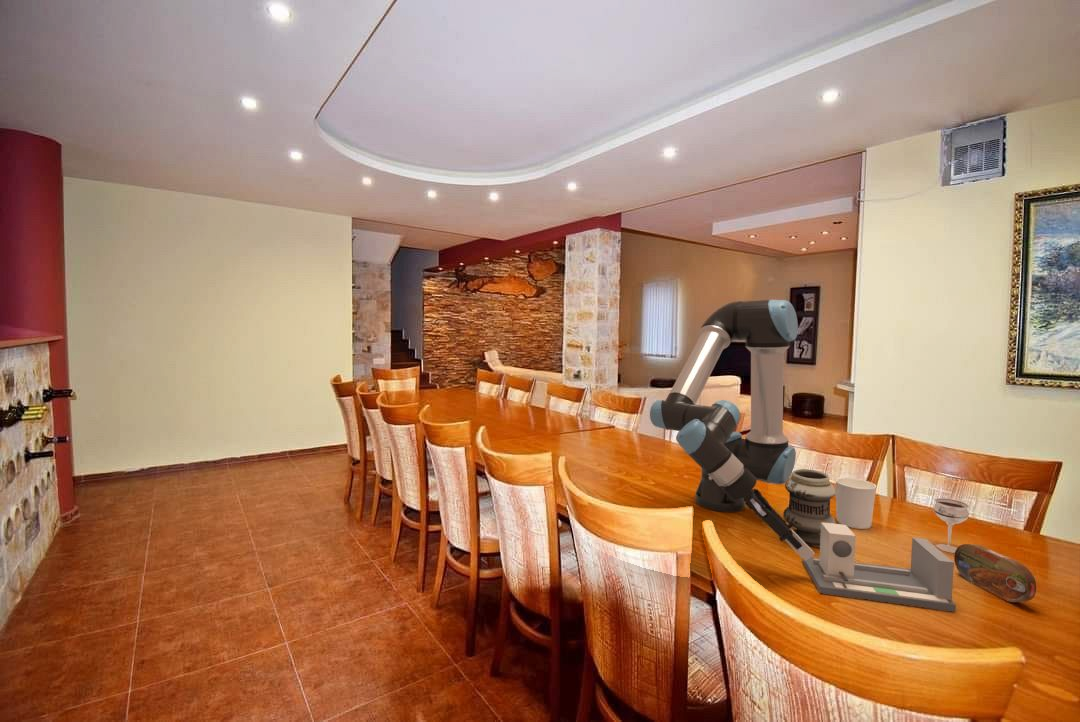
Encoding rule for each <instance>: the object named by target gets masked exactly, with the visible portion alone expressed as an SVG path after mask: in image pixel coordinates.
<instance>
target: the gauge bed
mask: <svg viewBox="0 0 1080 722" xmlns="http://www.w3.org/2000/svg"><path fill="white" fill-rule="evenodd" d="M910 556H911V557H910V568H903V567H898V566H896V567H895V566H887V565H880V564H873V563H870V564H869V563H863V562H855V561H854V579H853V578H847V579H848V581H844V580H843V578H842V577H837V576H830V575H826V574H825V573H824V571H823V570H822V568H821V566H820V565H819V559H820V557H814V556H812V557H811V558H809V559H808V560H806V561H804V560H803V559H802V558H801V559H802V564H803V566H804V567H805V570H806V572H807V573H808V574H809V576H810V578H812V579H811V580H812V582H813V584H814V585H816V586H815V588H816V589H817V591H818V593H819V592H820V593H823V594H822V595H827V594H829V595H830V596H834V595H836V597H842V596H843V597H844V598H849V597H852V598H851V599H856V598H860V599H859V600H863V599H868V600H867V601H871V600H873V601H872V602H878V601H880V602H879V603H885V602H888V603H887V604H892V603H897V604H896V605H900V604H905V605H904V606H907V605H913V606H912V607H914V606H919V607H918V608H921V607H926V608H925V609H929V608H931V609H930V610H936V609H937V610H938V611H945V612H950V611H952V612H953V613H956V612H957V610H956V608H957V604H956V603H955V602H954V601H952V600H953V599H952V598H953V587H954V585H953V584H954V567H955V561H953V560H952V559H950V557H948V556H947V555H946V554H945V553H943V552H942V551H941V549H939V548H937V547H936V545H934V544H933V543H931V542H930V541H929V540H928V539H926V538H922V537H921V538H920V537H912V539H911V555H910ZM820 593H819V594H820ZM829 595H828V596H829Z"/></svg>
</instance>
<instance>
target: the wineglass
mask: <svg viewBox="0 0 1080 722" xmlns="http://www.w3.org/2000/svg"><path fill="white" fill-rule="evenodd" d="M934 502H935V504H934V506H933V511H934V513H935V515H936V516H937V517H938V518H939V519H940V520H941V521H943V522H945V523H946V525H947V544H943V543H939V544H935V547H936V548H937V549H938V550H940V551H941V550H942V551H943V552H947V553H952V554H955V551H956V549H957V548H958V547H955V546H953V545H951V539H952V530H953V526H955V524H961V523H963V522H965V521H967V520H968V518H969V515H970V513H969V510H968V508H970V506H969V504H967V503H965V502H963V501H959V500H956V499H950V498H942V497H941V498H935V499H934Z"/></svg>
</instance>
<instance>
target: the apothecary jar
mask: <svg viewBox="0 0 1080 722" xmlns="http://www.w3.org/2000/svg"><path fill="white" fill-rule="evenodd" d="M784 487H785V490H786V491H787V492H788V493H789V496H788V497H789V498H788V499H789V501H788V506H787V507H786V508H785V509H784V511H783V512H782V515H783V518H784V519H783V520H785V521H786V524H787V525H789V524H790V523H791V525H792V526H793V527H792V528H795V529H792V530H793V531H794V532H795V533H796V534H797V535H798V536H799V537H800V538H801V539H802V540H803V541H804V542H805V543H806V544H807V545H808V546H809V547H813V548H820V535H821V522H823V523H833V524H836V520H835V518H834V516H833V515H832V514H831V499H833V498H835V497H836V486H834V485H833V483H831V482H830V477H829V475H828V474H827V473H825V472H822V471H819V470H815V469H810V468H809V469H808V468H807V469H806V468H799V469H793V471H792V473H791V476H790V478H789V479H788V480H787V481H786V482H785V483H784Z"/></svg>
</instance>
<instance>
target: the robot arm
mask: <svg viewBox="0 0 1080 722" xmlns="http://www.w3.org/2000/svg"><path fill="white" fill-rule="evenodd" d="M798 329H799V323H798V317H797V313H796V310H795V308H794V306H793V304H792V303H791V302H790V301H788V300H785V299H773V298H772V299H768V300H767V299H764V300H762V299H761V300H744V301H743V300H741V301H738V300H736V301H731V302H729V303H727V304H725V305H723V306H720V307H719V308H718V309H716V310H715V311H714V312H713V313H712V314H710V315H709V316H708V317H707V318H706V319H705V321H704V322H703V323H702V325H701V327H700V329H699V331H698V333H697V334H698V335H697V336H698V340H697V342H696V343H695V345H694V347H693V349H692V351H691V353H690V355H689V356H688V359H687V360H686V361H685V363H684V365H683V367H682V369H681V371H680V372H679V374H678V377H677V379H676V380H675V382H674V384H673V385H672V388H671V390H670V391H669V393H668V395H667V396H666V398H665V399H664V400H663V399H661V400H656V401H655V402H653V403H652V404H651V406H650V410H649V419H650V422H651V423H652V425H653V426H654V427H656V428H661V429H663V430H667V431H675V432H676V431H677V434H676V436H675V441H676V442H677V443H678V445H679V446H680V448H682V449H683V451H684V452H685V454H687V455H688V457H690V458H691V459H692V460H693V461H694V462H695V463H696V464H697V465H698V466H699V467H700V468H701V478H700V481H699V484H698V487H696V488H697V489H696V492H695V496H694V497H695V498H694V499H695V503H696V504H697V505H699V506H700V507H702V508H705V509H708V510H710V511H711V510H712V511H716V512H723V513H724V512H725V513H734V512H735V513H736V512H740V511H743V510H745V509H746V506H747V507H748V509H750V510H752V511H753V513H754V514H755V515H756V516H757V517H758V518H759V519H761V520H762V521H763V522H764V523H765V524H766V525H767V526H768V527H769V528H770V529H771V530H772V531H773V532H774V533H775V534H776V535H777V536H778V537H779V541H780V542H786V544H788V545H789V546H790V547H791V549H792V550H794V552H796V553H797V554H798V555H799V557H801V559H803V560H804V561H806V560H808V559H809V558H811V557H814V556H815V555H816V554H815V552H814V550H812V548H811V547H810V545H807V544H806V543H805V542H804V541H803V540H802V539H801V538H800V537H799V536H798V535H797V534H796V533H795V532H794V531H793V530H794V529H792V528H794V527H793V526H792V525H791V523H790V524H788V523H787V522H786V521H785V519H783V518H782V516H781V515H780V514H779V513H778V512H777V511H776V510H775V509H774V508H773V507H772V505H771V504H770V503H769V501H768V500H767V499H766V498H765V497H764V496H763V494H762V493H761V491H760V490H758V489H757V488H755V486H756V485H757V482H763V483H767V484H775V485H778V486H780V485H783V484H784V485H785V482H786V481H787V480H788V479H789V478H791V476H792V472H793V471H794V467H795V463H796V457H797V452H796V448H795V447H794V446H792V445H789V438H788V437H787V435H785V434H784V432H783V431H784V429H783V428H784V424H783V423H784V421H783V420H784V419H783V418H784V415H783V414H784V360H785V359H784V358H785V357H784V353H785V352H786V351H787V350H788V349H789V348H790V344H791V342H793V341H795V340H796V339H797V337H798ZM737 340H738V341H745V348H746V349H747V350H748V351H749V352H750V431H749V432H747V433H746V435H745V437H744V438H743V435H742V433H741V432H738V431H735V430H736V429H737V427H738V425H739V423H740V422H741V421H740V420H741V417H742V415H741V412H740V409H739V408H738V406H736V404H734V403H733V402H732V401H729V400H727V399H721V400H716V401H715V402H714V403H713V404H712V405H711V406H709V405H701V404H697V402H698V400H699V399H700V396H701V394H702V392H703V390H704V388H705V387H706V384H707V382H708V380H709V379H710V376H711V374H712V372H713V370H714V369H715V367H716V364H717V362H718V361H719V359H720V356H721V354H722V352H723V351H724V349H726V348H728V347H729V346H730V344H731V342H734V341H737Z"/></svg>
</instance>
